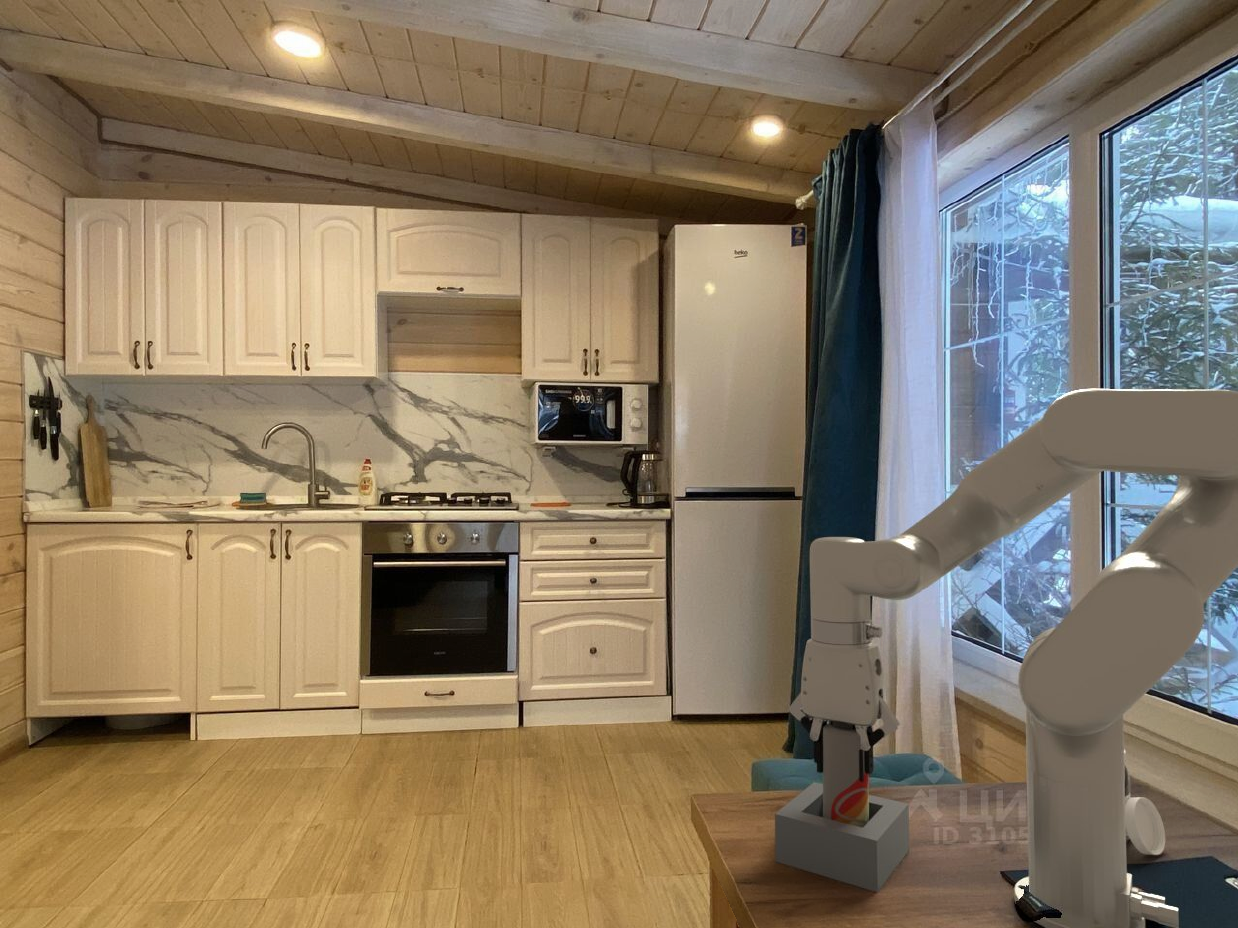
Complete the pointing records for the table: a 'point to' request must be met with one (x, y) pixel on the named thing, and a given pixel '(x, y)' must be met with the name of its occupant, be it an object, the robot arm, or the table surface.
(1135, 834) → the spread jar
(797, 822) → the sleeve
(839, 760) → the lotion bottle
